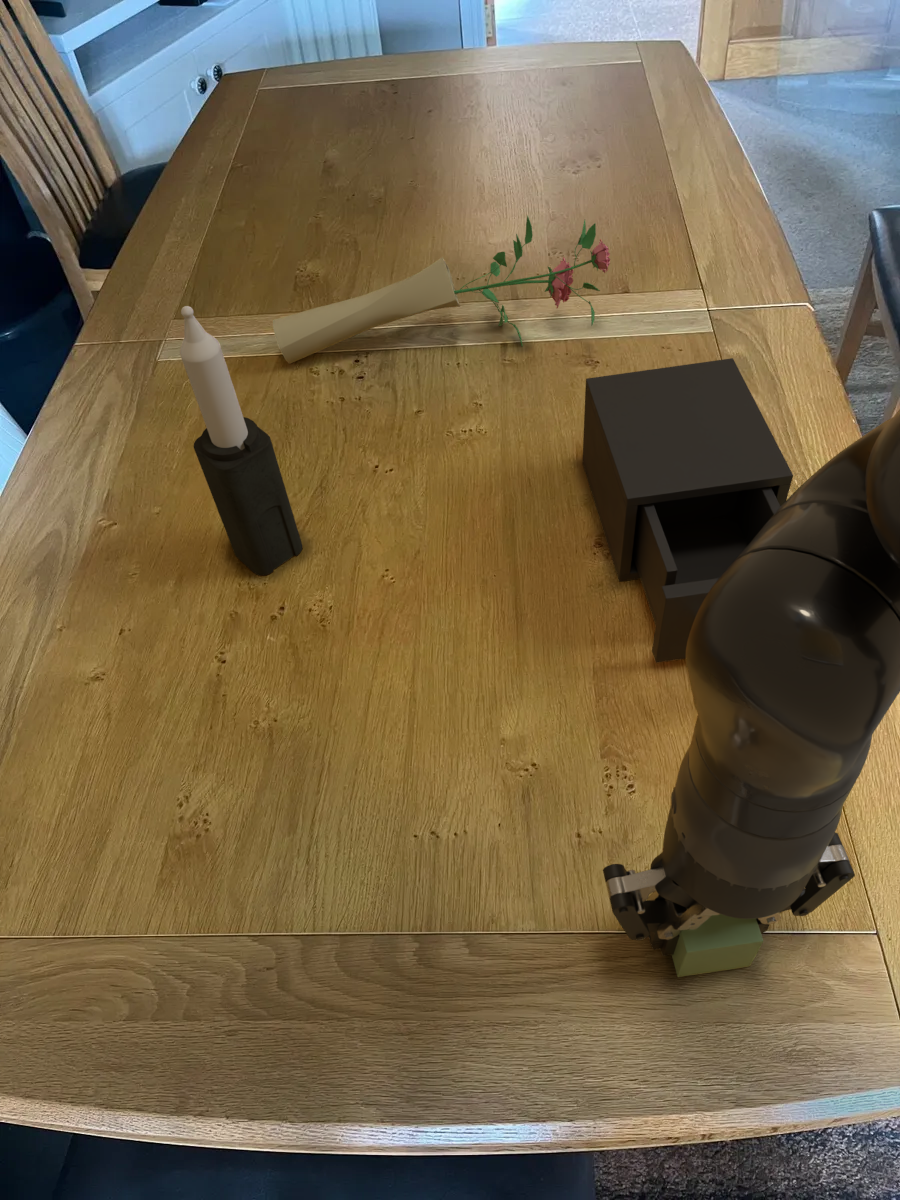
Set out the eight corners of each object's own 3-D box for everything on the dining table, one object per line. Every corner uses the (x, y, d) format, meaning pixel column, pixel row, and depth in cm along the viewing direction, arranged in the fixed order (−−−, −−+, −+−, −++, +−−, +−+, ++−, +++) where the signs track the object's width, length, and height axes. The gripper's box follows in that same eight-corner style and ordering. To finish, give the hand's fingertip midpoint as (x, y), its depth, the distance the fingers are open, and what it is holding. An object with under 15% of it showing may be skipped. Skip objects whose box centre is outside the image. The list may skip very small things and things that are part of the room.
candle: (274, 520, 86) (196, 277, 67) (308, 548, 83) (236, 304, 64) (229, 550, 84) (134, 309, 65) (261, 580, 82) (173, 338, 62)
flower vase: (319, 393, 109) (611, 294, 104) (309, 435, 99) (632, 328, 94) (277, 296, 103) (585, 185, 98) (261, 331, 93) (604, 209, 87)
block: (727, 895, 61) (739, 866, 57) (750, 966, 58) (764, 941, 55) (658, 905, 61) (665, 877, 57) (677, 977, 58) (686, 952, 54)
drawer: (825, 689, 69) (852, 624, 63) (670, 711, 69) (683, 648, 63) (747, 516, 81) (764, 447, 74) (614, 535, 80) (620, 467, 74)
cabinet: (769, 560, 78) (793, 475, 71) (619, 582, 78) (627, 498, 71) (716, 444, 88) (733, 357, 80) (582, 463, 88) (585, 378, 80)
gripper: (624, 907, 44) (606, 1012, 57) (925, 863, 44) (837, 977, 57) (590, 766, 48) (580, 893, 62) (862, 726, 49) (794, 861, 62)
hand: (704, 933), depth 59 cm, fingers closed on block, 4 cm apart
